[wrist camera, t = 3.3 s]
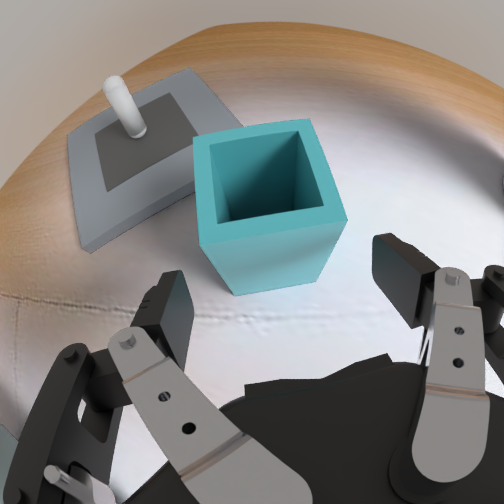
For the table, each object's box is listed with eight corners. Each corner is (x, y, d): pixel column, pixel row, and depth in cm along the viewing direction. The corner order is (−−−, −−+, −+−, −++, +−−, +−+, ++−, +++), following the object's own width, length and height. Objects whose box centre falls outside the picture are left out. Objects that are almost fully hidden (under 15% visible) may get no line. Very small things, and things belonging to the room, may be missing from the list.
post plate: (192, 75, 30) (175, 17, 22) (261, 158, 24) (253, 72, 15) (72, 142, 29) (36, 94, 20) (90, 253, 23) (21, 205, 14)
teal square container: (298, 210, 22) (309, 118, 13) (315, 281, 20) (347, 220, 11) (225, 222, 22) (192, 137, 13) (234, 296, 20) (199, 245, 11)
